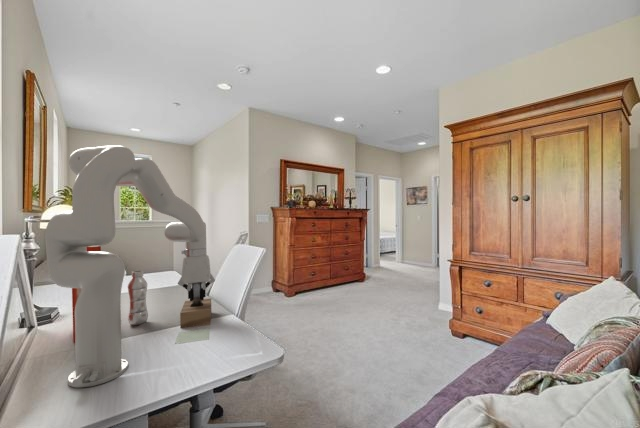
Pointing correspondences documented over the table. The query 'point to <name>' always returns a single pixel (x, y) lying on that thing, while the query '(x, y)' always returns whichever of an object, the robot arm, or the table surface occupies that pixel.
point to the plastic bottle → (137, 299)
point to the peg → (196, 294)
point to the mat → (192, 336)
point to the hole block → (195, 314)
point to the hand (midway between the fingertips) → (197, 299)
